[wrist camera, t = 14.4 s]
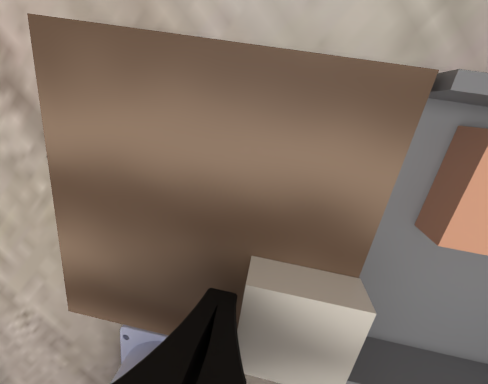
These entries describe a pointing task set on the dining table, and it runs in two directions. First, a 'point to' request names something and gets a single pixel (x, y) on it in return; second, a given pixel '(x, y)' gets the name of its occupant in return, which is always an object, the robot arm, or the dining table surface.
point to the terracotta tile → (460, 195)
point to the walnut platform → (210, 161)
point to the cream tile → (301, 323)
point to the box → (427, 263)
